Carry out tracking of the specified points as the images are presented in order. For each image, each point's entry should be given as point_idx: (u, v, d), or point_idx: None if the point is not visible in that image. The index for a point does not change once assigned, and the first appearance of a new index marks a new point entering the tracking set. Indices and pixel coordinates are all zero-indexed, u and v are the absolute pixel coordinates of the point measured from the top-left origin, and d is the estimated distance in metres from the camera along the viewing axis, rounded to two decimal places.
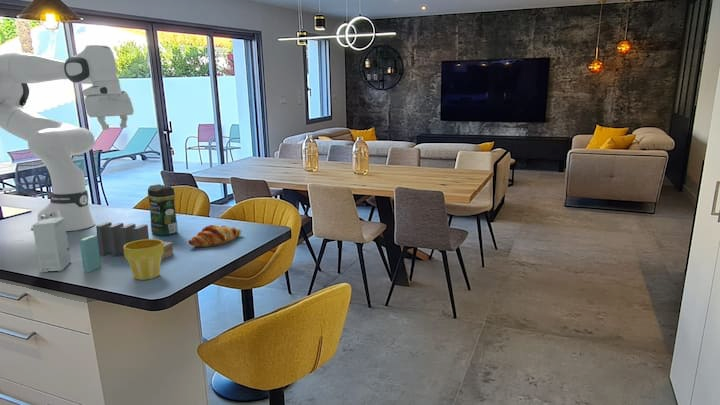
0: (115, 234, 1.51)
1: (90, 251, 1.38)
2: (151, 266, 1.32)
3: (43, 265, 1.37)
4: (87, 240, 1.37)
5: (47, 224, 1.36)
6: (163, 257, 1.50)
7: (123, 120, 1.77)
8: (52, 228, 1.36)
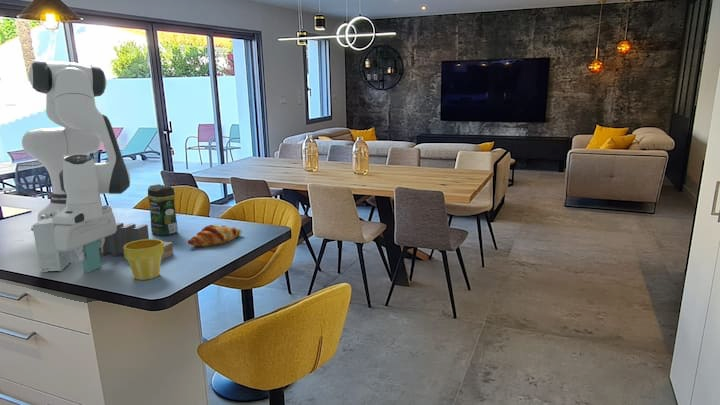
0: (115, 234, 1.51)
1: (90, 251, 1.38)
2: (151, 266, 1.32)
3: (43, 265, 1.37)
4: None
5: (47, 224, 1.36)
6: (163, 257, 1.50)
7: (99, 243, 1.43)
8: (52, 228, 1.36)
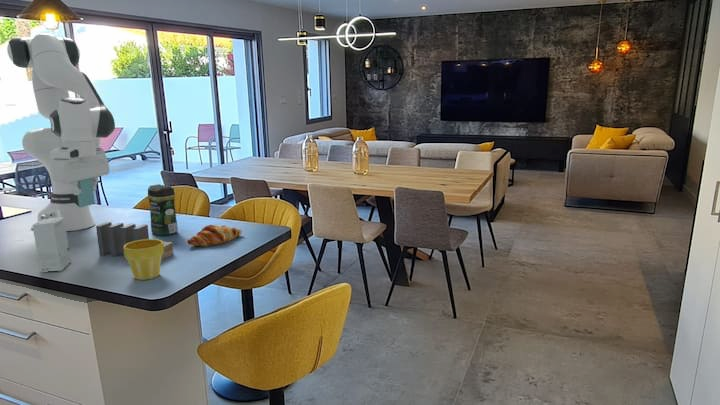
0: (115, 234, 1.51)
1: (84, 187, 1.51)
2: (151, 266, 1.32)
3: (43, 265, 1.37)
4: None
5: (47, 224, 1.36)
6: (163, 257, 1.50)
7: (93, 182, 1.55)
8: (52, 228, 1.36)
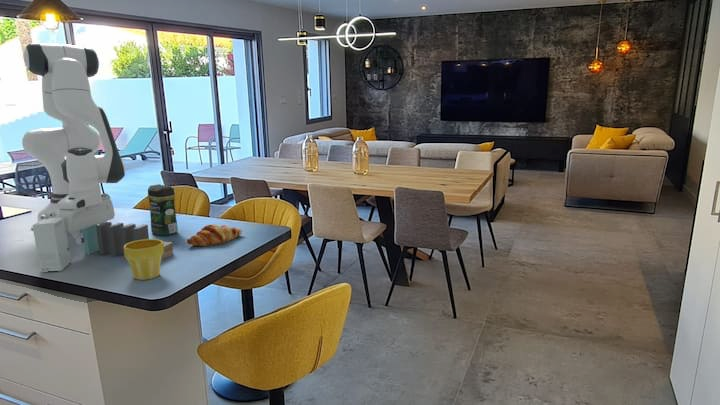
0: (115, 234, 1.51)
1: (90, 235, 1.54)
2: (151, 266, 1.32)
3: (43, 265, 1.37)
4: None
5: (47, 224, 1.36)
6: (163, 257, 1.50)
7: None
8: (52, 228, 1.36)
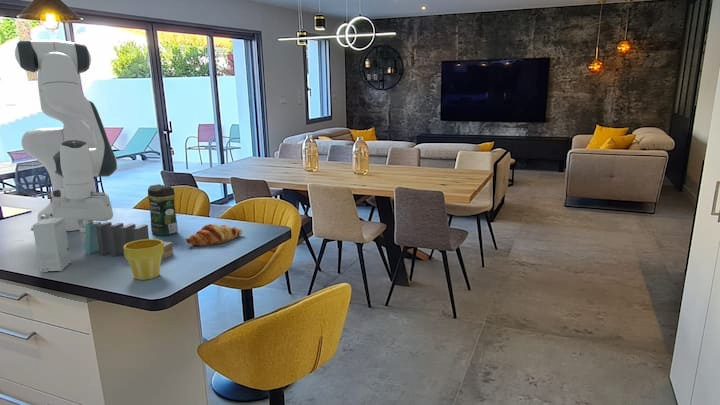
0: (115, 234, 1.51)
1: (93, 236, 1.54)
2: (151, 266, 1.32)
3: (43, 265, 1.37)
4: (92, 226, 1.53)
5: (47, 224, 1.36)
6: (163, 257, 1.50)
7: None
8: (52, 228, 1.36)
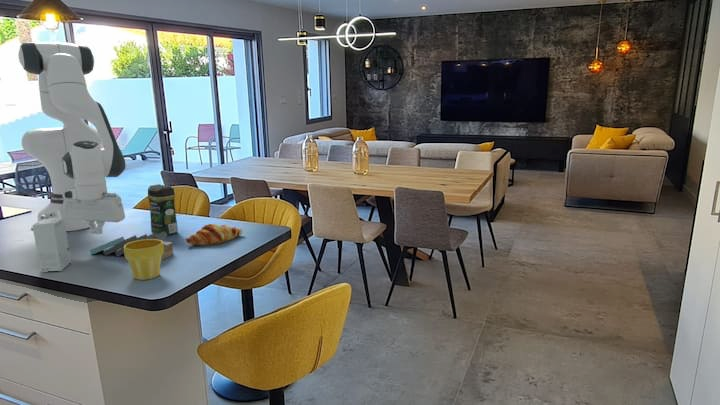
0: None
1: None
2: (151, 266, 1.32)
3: (43, 265, 1.37)
4: None
5: (47, 224, 1.36)
6: (163, 257, 1.50)
7: None
8: (52, 228, 1.36)
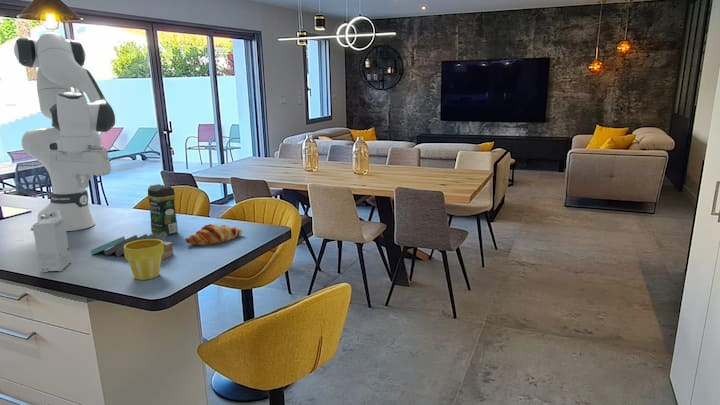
0: None
1: None
2: (151, 266, 1.32)
3: (43, 265, 1.37)
4: (116, 244, 1.52)
5: (47, 224, 1.36)
6: (163, 257, 1.50)
7: None
8: (52, 228, 1.36)
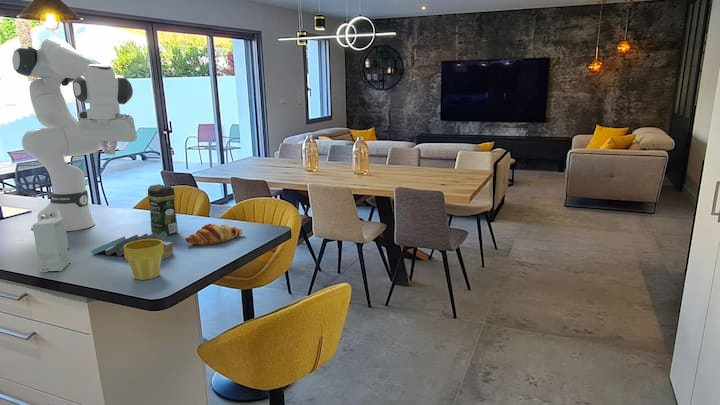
0: None
1: None
2: (151, 266, 1.32)
3: (43, 265, 1.37)
4: None
5: (47, 224, 1.36)
6: (163, 257, 1.50)
7: None
8: (52, 228, 1.36)
